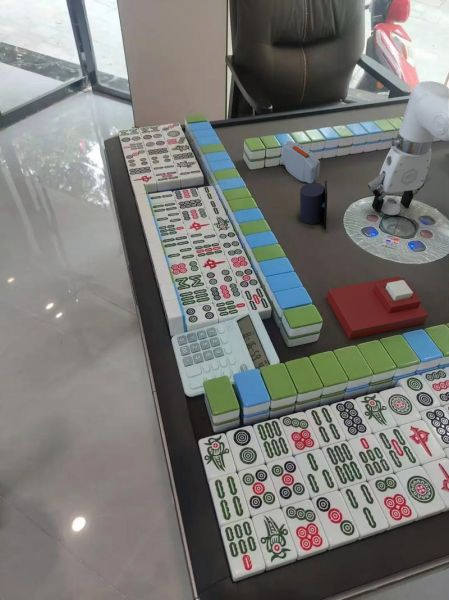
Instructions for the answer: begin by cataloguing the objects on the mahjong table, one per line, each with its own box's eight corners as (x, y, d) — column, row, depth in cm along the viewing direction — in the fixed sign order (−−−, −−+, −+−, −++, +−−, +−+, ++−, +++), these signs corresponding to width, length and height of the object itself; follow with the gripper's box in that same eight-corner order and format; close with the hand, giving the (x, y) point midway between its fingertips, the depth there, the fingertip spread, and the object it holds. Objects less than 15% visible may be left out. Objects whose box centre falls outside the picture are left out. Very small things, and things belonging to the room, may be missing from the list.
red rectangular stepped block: (395, 285, 92) (401, 270, 89) (423, 323, 85) (431, 309, 82) (326, 298, 90) (330, 283, 86) (349, 339, 83) (354, 324, 79)
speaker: (333, 216, 108) (336, 180, 100) (325, 229, 105) (328, 193, 97) (304, 210, 111) (305, 174, 103) (296, 223, 108) (297, 187, 100)
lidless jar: (400, 216, 109) (397, 205, 112) (404, 207, 106) (401, 195, 110) (380, 215, 109) (377, 203, 112) (384, 205, 107) (381, 194, 110)
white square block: (400, 285, 87) (403, 279, 85) (410, 298, 84) (413, 292, 83) (384, 288, 86) (387, 282, 85) (393, 301, 84) (396, 295, 82)
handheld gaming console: (318, 186, 117) (323, 159, 112) (310, 189, 116) (315, 162, 110) (286, 162, 126) (289, 136, 120) (278, 165, 125) (280, 139, 119)
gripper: (386, 155, 93) (365, 221, 106) (457, 146, 96) (428, 211, 109) (370, 139, 98) (352, 204, 111) (437, 130, 101) (412, 194, 114)
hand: (390, 207), depth 110 cm, fingers open, 7 cm apart
